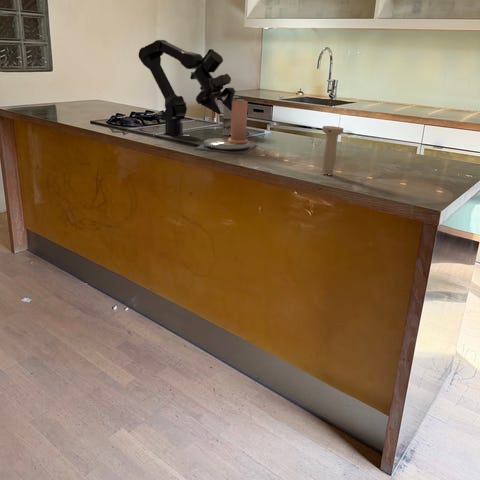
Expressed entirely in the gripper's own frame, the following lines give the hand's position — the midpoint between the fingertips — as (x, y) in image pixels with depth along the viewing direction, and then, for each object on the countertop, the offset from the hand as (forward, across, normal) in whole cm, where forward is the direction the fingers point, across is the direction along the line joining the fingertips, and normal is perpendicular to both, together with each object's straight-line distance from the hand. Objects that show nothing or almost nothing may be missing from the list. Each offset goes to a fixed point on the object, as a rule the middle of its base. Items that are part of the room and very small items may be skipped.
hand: (227, 112), depth 188 cm
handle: (+46, -13, -27) cm, 55 cm away
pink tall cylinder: (+11, 0, +4) cm, 12 cm away
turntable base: (+11, -4, +6) cm, 14 cm away
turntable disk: (+11, -4, +6) cm, 14 cm away
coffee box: (0, +21, +18) cm, 28 cm away
